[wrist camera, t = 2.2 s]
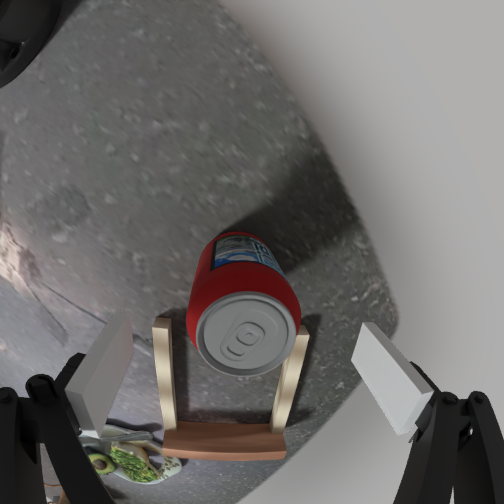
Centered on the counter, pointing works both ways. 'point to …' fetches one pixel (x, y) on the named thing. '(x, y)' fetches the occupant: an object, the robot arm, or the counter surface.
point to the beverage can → (242, 307)
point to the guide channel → (219, 434)
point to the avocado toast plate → (128, 455)
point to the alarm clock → (56, 499)
